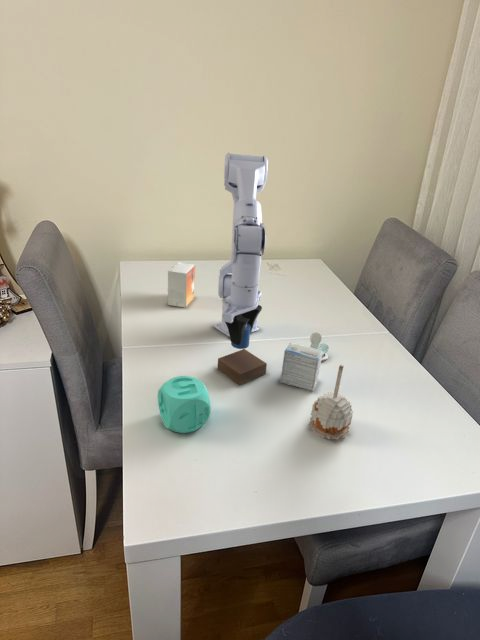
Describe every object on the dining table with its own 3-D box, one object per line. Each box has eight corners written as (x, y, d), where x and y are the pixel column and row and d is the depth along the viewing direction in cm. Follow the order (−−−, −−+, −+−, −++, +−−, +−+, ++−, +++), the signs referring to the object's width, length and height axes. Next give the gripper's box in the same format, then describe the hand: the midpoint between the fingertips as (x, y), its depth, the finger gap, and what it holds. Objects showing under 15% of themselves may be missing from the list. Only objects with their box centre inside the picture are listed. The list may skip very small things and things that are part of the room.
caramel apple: (322, 411, 103) (334, 350, 96) (354, 428, 99) (369, 366, 92) (301, 428, 98) (312, 365, 90) (334, 446, 94) (348, 382, 86)
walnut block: (243, 359, 119) (244, 348, 117) (265, 374, 114) (266, 363, 112) (217, 369, 114) (217, 358, 112) (239, 385, 109) (240, 374, 107)
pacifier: (332, 362, 122) (323, 349, 127) (337, 340, 118) (327, 328, 123) (305, 364, 120) (296, 351, 124) (309, 342, 116) (300, 329, 121)
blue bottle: (236, 338, 112) (238, 315, 109) (251, 343, 111) (254, 319, 108) (227, 345, 109) (229, 321, 106) (243, 350, 108) (246, 326, 105)
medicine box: (317, 382, 113) (323, 350, 109) (313, 392, 109) (319, 359, 105) (285, 373, 115) (289, 341, 110) (279, 383, 111) (284, 350, 107)
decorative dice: (170, 437, 92) (170, 403, 88) (157, 413, 98) (157, 379, 94) (210, 427, 95) (211, 394, 91) (195, 404, 101) (196, 372, 97)
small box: (186, 308, 140) (186, 273, 134) (167, 305, 140) (167, 270, 135) (194, 297, 147) (195, 264, 141) (177, 294, 147) (177, 261, 142)
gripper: (243, 268, 109) (239, 322, 116) (211, 288, 98) (208, 347, 105) (272, 275, 107) (266, 330, 114) (242, 297, 96) (237, 356, 102)
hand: (240, 339), depth 109 cm, fingers closed on blue bottle, 4 cm apart
